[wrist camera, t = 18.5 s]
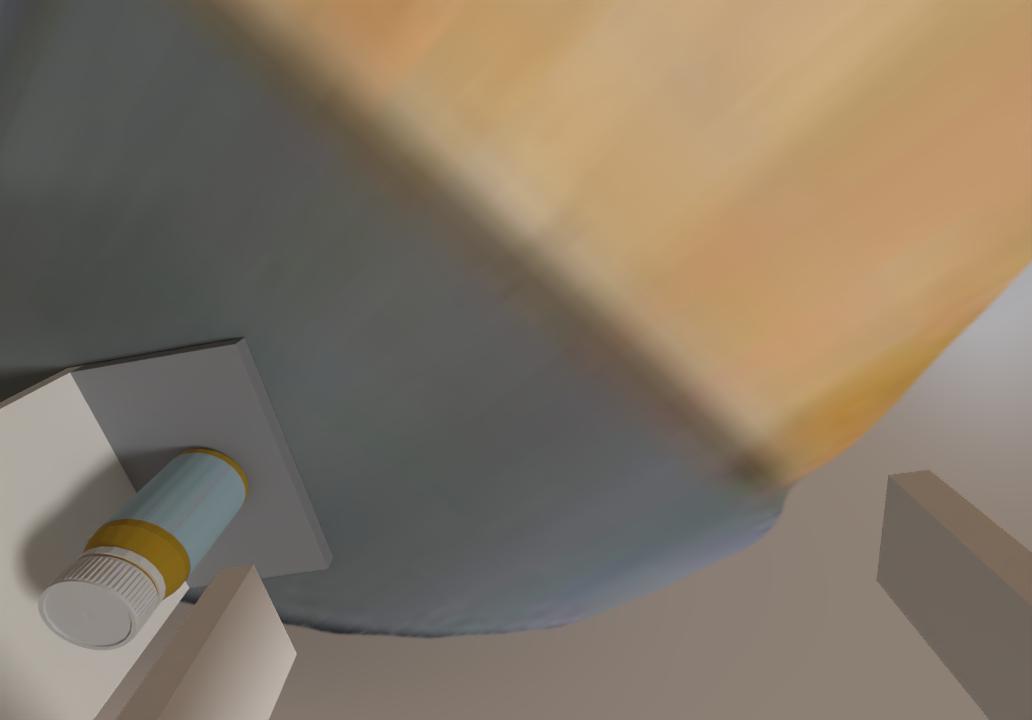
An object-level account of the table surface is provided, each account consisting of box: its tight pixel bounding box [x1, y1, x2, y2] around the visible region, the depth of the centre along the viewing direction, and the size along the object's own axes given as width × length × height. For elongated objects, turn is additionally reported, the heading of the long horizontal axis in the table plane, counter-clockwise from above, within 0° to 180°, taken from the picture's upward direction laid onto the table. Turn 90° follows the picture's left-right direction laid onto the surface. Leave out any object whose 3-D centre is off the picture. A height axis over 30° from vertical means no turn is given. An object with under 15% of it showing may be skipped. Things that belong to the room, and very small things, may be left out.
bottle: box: [38, 449, 248, 650], centre depth 41 cm, size 7×7×15 cm
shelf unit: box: [0, 337, 333, 720], centre depth 35 cm, size 16×24×30 cm, turn 10°
